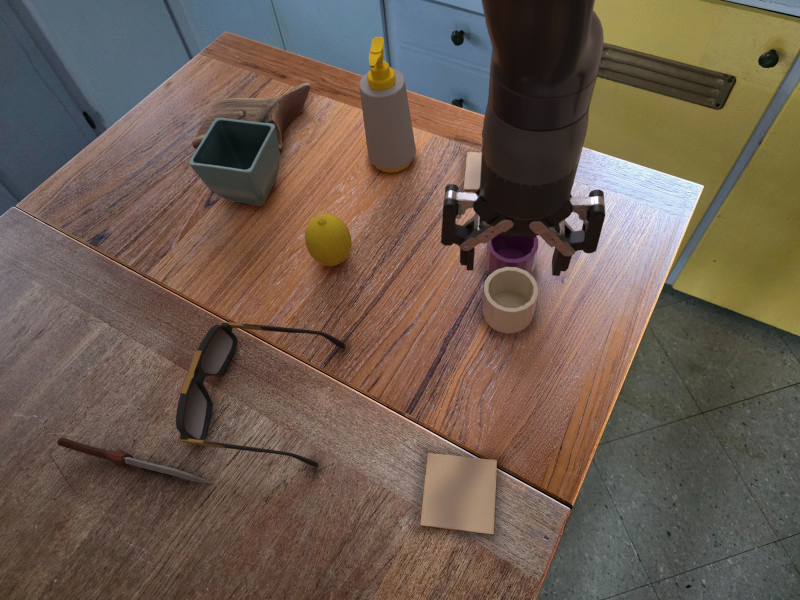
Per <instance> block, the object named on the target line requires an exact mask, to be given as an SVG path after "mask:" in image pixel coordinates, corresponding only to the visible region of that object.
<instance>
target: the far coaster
mask: <svg viewBox="0 0 800 600" xmlns="http://www.w3.org/2000/svg"><path fill="white" fill-rule="evenodd" d="M481 158H482V151H467V152H466V160H465V171H464V181H463V182H464V183H463V191H466V192H467V191H470V192H476V191H477V190H478V189H479V187H480V176H481Z"/></svg>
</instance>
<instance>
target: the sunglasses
mask: <svg viewBox="0 0 800 600" xmlns="http://www.w3.org/2000/svg"><path fill="white" fill-rule="evenodd" d="M234 329H241V330H250V331H251V330H253V331H264V332H265V331H266V332H275V333H277V332H278V333H287V334H308V335H315V336H316V335H317V336H321V337H323V338H325V339H326V340H328V341H329V342H331V343H332V344H333V345H335V346H336V347H338V348H340V349H345V348H346V344H345V342H343V341H342V340H340V339H339V338H336V337H335V336H333V335H331V334H329V333H326V332H324V331H319V330H312V329H304V328H293V327H284V326H274V325H264V324H253V323H238V322H230V321H220V322H219V324H217V323H216V324H215V325H212V326H211V327H210V328H209V329H208V331H207V332H206V334H205V335H204V337H203V339H202V340H201V342H200V344H199V345H198V347H197V349H196V350H195V353H194V354H193V358H192V360H191V363H190V366H189V369H188V371H187V374H186V376H185V379H184V382H183V385H182V387H181V389H180V392H179V397H178V402H177V407H176V414H175V427H176V429H177V431H178V432H179V435H178V437H177V441H178V442H181V443H185V444H193V445H200V446H202V447H203V446H204V447H211V448H219V449H230V450H240V451H247V452H254V453H264V454H274V455H280V456H287V457H291V458H293V459H296V460H298V461H300V462H303V463H304V464H307V465H309V466H311V467H315V468H317V467H319V462H317V461H315V460H312V459H311V458H307V457H305V456H302V455H299V454H297V453H296V454H295V453H293V452H290V451H282V450H275V449H268V448H262V447H254V446H246V445H241V444H240V445H238V444H232V443H226V442H225V443H224V442H220V441H214V440H213V441H211V440H206V437H207V433H208V430H209V425H210V421H211V415H212V409H213V400H212V398H211V395H210V393H209V391H208V389H207V388H206V385H205V380H206V378H207V377H218V376H221V375H223V374H224V372H225V371H226V369H227V367H228V366H229V364H230V361H231V360H232V357H233V355H234V353H235V351H236V348H237V345H238V338H237V336H236V335H235V334H234V332H233V330H234Z"/></svg>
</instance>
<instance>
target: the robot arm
mask: <svg viewBox="0 0 800 600" xmlns="http://www.w3.org/2000/svg"><path fill="white" fill-rule="evenodd" d="M480 2H481V6H482V11H483V15H484V21H485V26H486V30H487V33H488V37H489V39H490V40H489V41H490V45H491V53H490V63H489V65H490V66H489V79H488V95H487V96H488V97H487V104H486V107H485V112H484V116H483V124H482V129H481V140H482V141H481V152H482V158H481V176H480V187H479V189H478V190H477V191H474V192H465V191H464V192H463V191H459V190H460V188H459V186H458V184H455V183H448V184H447V185H445V189H444V196H443V203H442V204H443V205H442V215H441V217H442V219H441V232H440V234H441V235H440V243H441V245H443V246H445V247H448V246H449V247H450V246H452V245H453V244H454V245H456V246H458V247H459V264H460V265H461V266H463V267H464V266H465V267H466V271H474V267H475V266H474V265H475V254H476V253H475V252H476V247H477V246H478V245H480V244H483V245H487V242H489V241H490V240H491V239H493V238H494V237H496V236H497V235H499V234H501V236H508V237H510V236H523V237H528V238H536V236H537V237H538V236H539V237H540V238H542V240H543V241H544V242H545V243H546V244H547V245H548V246H549V247H550V248H553V249H554V250H553V254H552V258H551V276H553V277H554V276H556V277H560V276H561V273H562V272H567V271H568V270H569V267H570V263H571V260H572V257H573V256H574V255H576V252H579V251H583V253H585V254H594V253H596V251H598V247H599V246H598V245H599V242H600V238H601V235H602V230H603V227H604V222H605V218H606V205H605V192H604V191H603V190H602V189H592V190H590V192H589V194H588V196H573V195H572V190H573V187H574V182H575V179H576V176H577V171H578V167H579V163H580V160H581V156H582V152H583V148H584V145H585V140H586V137H587V133H588V125H589V115H590V107H591V102H592V100H593V94H594V91H595V87H596V83H597V78H598V74H599V70H600V67H601V61H602V57H603V52H604V51H603V49H604V42H605V41H604V39H605V38H604V37H605V36H604V28H603V24H602V22H601V21H602V20H601V19H600V18H599V16H598V14H597V13H596V12H595V11H594V7H595V2H596V0H481V1H480ZM469 209H473V211H474V214H473V216H472V217H471V218H470V219H468V220H467V221H466V222H464V223H463V224H462V225H461V224H457V220H458V219H461V218H462V215H464V214H466V211H467V210H469ZM572 213H575V214H577V216H578V219H579V220H580V221H582V226H581V230H574V228H573V227H572V226H571V225H570V224H569V223H568V222H567V221H566V219H568V218H569V217H570V216H571V215H572Z"/></svg>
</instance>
